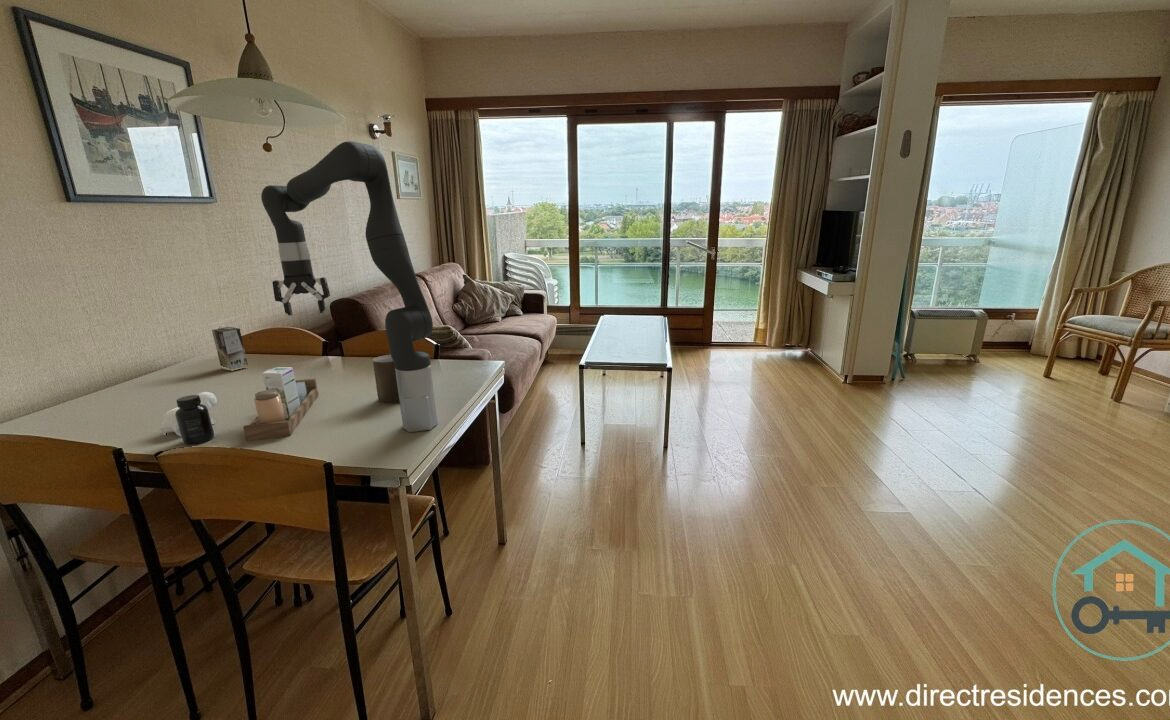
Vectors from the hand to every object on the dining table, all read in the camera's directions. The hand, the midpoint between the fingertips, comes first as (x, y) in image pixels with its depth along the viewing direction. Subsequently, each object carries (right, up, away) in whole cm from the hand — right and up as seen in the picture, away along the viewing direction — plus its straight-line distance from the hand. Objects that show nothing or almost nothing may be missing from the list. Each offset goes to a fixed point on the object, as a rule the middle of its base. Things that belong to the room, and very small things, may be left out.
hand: (306, 313), depth 147 cm
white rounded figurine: (-28, -33, -6) cm, 44 cm away
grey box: (-9, -27, +10) cm, 30 cm away
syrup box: (-5, -31, 0) cm, 31 cm away
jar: (-3, -33, -11) cm, 35 cm away
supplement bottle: (-20, -35, -15) cm, 43 cm away
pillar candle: (+22, -26, +12) cm, 36 cm away
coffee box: (-56, -17, +49) cm, 77 cm away
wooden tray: (-6, -30, 0) cm, 31 cm away
